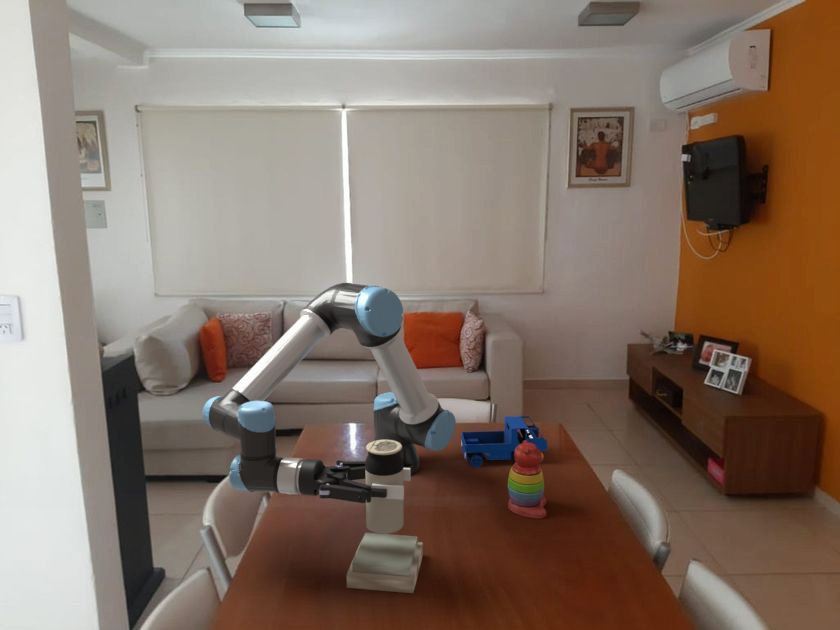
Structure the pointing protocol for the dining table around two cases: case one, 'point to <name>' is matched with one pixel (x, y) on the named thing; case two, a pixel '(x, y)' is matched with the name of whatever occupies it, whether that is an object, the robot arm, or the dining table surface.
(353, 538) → the dining table surface
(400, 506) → the travel mug
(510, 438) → the toy vehicle
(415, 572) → the plinth
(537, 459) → the stacking bear
